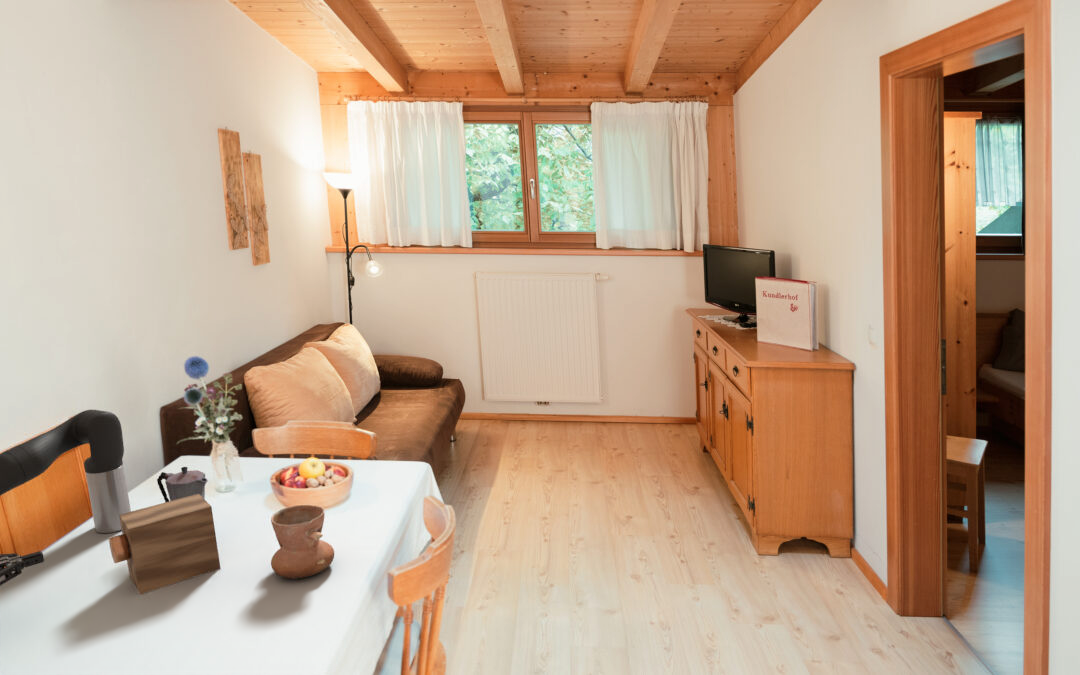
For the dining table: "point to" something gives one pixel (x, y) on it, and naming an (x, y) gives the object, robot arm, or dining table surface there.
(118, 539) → the plunger
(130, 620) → the dining table surface
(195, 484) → the moka pot
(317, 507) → the ceramic jug
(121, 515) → the press housing
